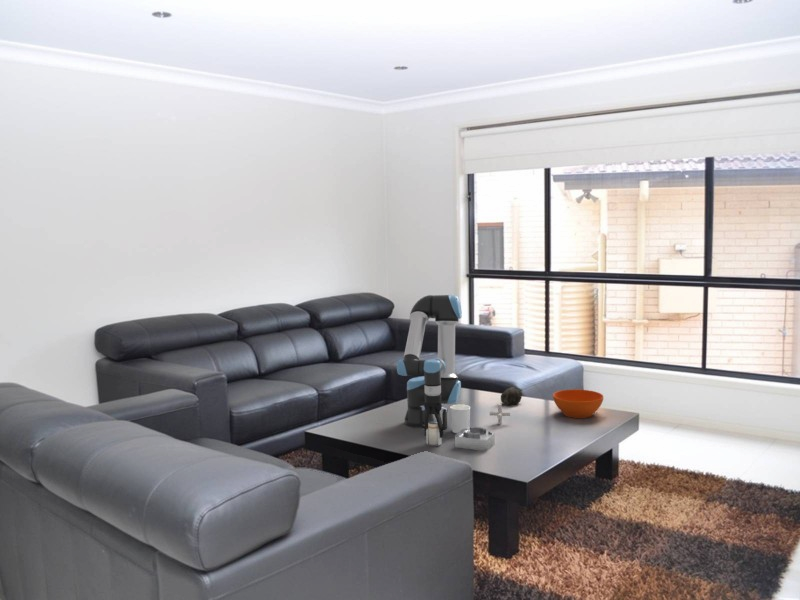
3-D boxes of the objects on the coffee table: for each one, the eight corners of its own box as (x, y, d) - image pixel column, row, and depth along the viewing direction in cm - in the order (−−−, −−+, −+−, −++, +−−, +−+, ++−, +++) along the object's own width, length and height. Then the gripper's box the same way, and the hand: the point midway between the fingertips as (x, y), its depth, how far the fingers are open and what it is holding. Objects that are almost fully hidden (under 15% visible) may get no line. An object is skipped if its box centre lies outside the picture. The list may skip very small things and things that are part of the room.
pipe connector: (509, 427, 353) (509, 407, 352) (489, 426, 355) (488, 406, 354) (510, 421, 363) (510, 401, 362) (490, 420, 365) (490, 401, 364)
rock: (497, 403, 394) (499, 385, 393) (506, 401, 403) (509, 384, 402) (513, 407, 388) (516, 389, 387) (522, 405, 397) (525, 388, 397)
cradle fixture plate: (455, 447, 326) (454, 432, 325) (463, 440, 335) (463, 425, 335) (486, 451, 319) (486, 435, 318) (494, 443, 329) (494, 428, 328)
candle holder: (457, 435, 343) (456, 410, 341) (446, 430, 351) (446, 406, 350) (474, 432, 347) (474, 407, 346) (463, 426, 356) (463, 403, 355)
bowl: (585, 405, 388) (585, 387, 387) (613, 417, 364) (613, 398, 363) (544, 411, 380) (543, 392, 379) (569, 423, 356) (569, 403, 355)
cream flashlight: (426, 445, 329) (426, 423, 328) (431, 441, 334) (430, 420, 333) (437, 446, 327) (436, 424, 326) (441, 443, 332) (441, 421, 331)
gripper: (411, 394, 328) (412, 443, 331) (448, 397, 321) (449, 448, 323) (418, 390, 335) (419, 439, 338) (454, 393, 327) (455, 443, 330)
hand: (434, 443), depth 331 cm, fingers closed on cream flashlight, 5 cm apart
